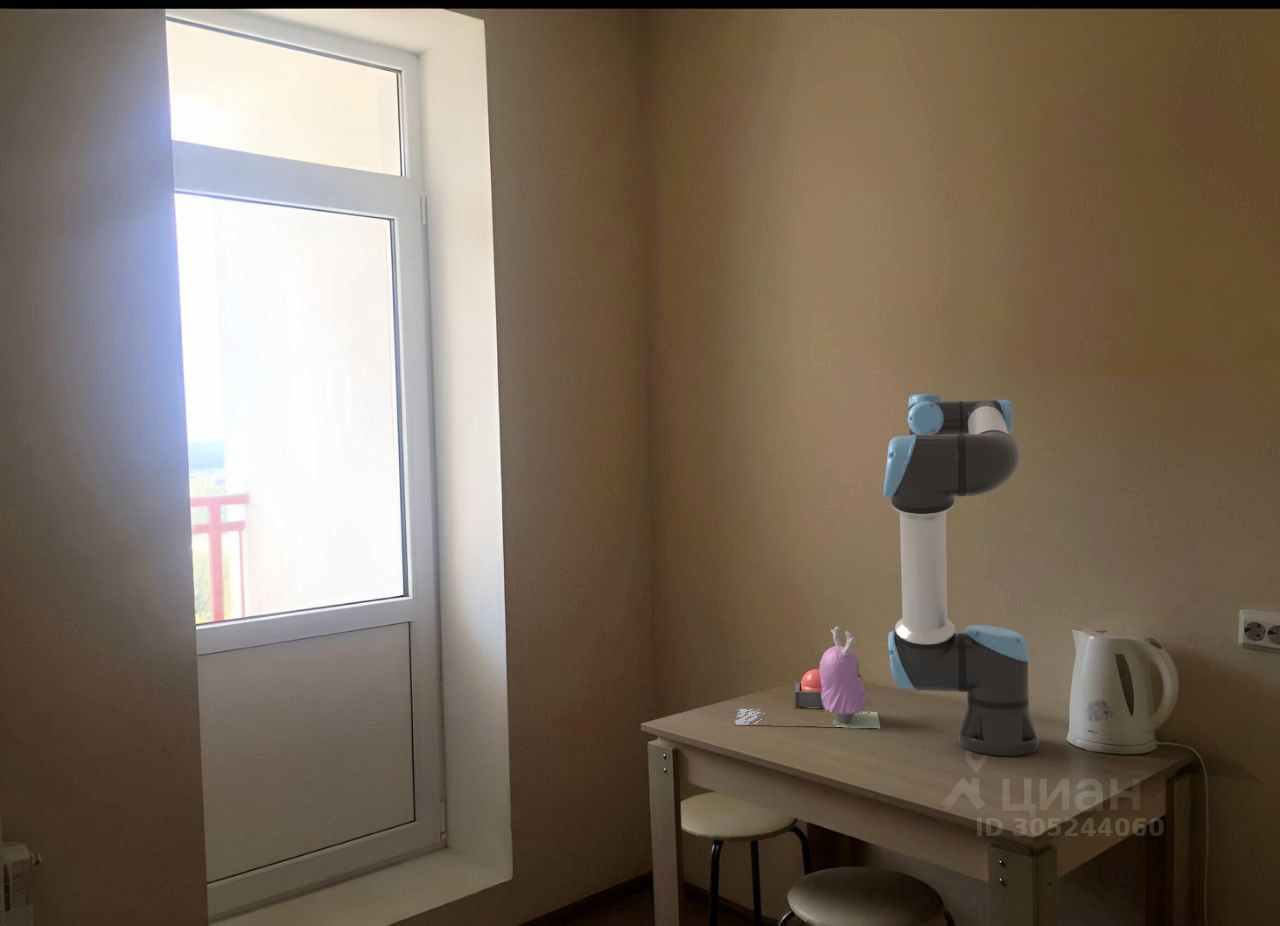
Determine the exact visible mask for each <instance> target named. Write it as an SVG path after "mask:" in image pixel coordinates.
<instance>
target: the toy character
mask: <svg viewBox="0 0 1280 926" xmlns="http://www.w3.org/2000/svg"><path fill="white" fill-rule="evenodd" d="M840 630H841V628H840V626H836V627H834V628H832V629H831V630H830V633H831V634H832V635H833V636H832V637H833V642H834V643H835V646H831V647H829V648H828V649H827V650H825V651H824V653H823V654H822V657H821V659H820V661H819V668H818V669H819V670H820V680H821V686H822V692H821V698H822V704H823V706H824V708H825V709H824V711H830V712H831V713H834V714H836V716H837V717H838V718H839V720H840V721H841V722H842V723H847V722H849V721H850V720H851V718H852V717H853V715H854V714H855V713H857V712H862V711H864V710H865V709H866V705H867V704H866V703H867V702H868V698H867V697H866V689H865V686H864V682H863V681H864V679H863V675H860V664H859V661H858V654H857V652H855V650H853V649H852V648H853V646H852V645H853V643H854V642H855V641H856V638H855V637H852V633H851V632H849V631H848V630H846V631H845V636H846V643H845V646H843V645H842V641H841V640H840V636H839V631H840Z"/></svg>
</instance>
